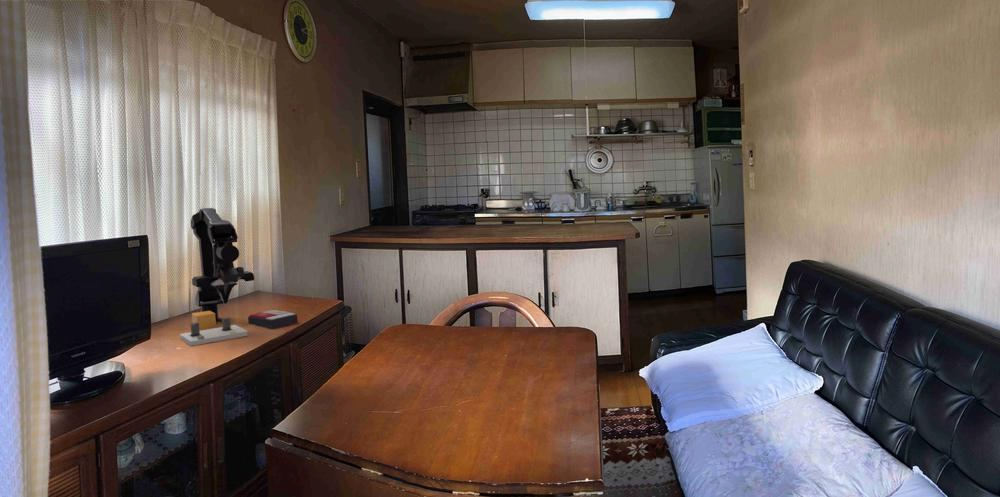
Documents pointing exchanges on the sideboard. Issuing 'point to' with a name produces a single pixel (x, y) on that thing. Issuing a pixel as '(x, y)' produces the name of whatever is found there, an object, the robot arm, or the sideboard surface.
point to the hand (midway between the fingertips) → (225, 303)
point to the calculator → (273, 319)
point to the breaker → (195, 329)
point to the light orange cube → (204, 320)
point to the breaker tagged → (226, 324)
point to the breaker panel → (213, 335)
